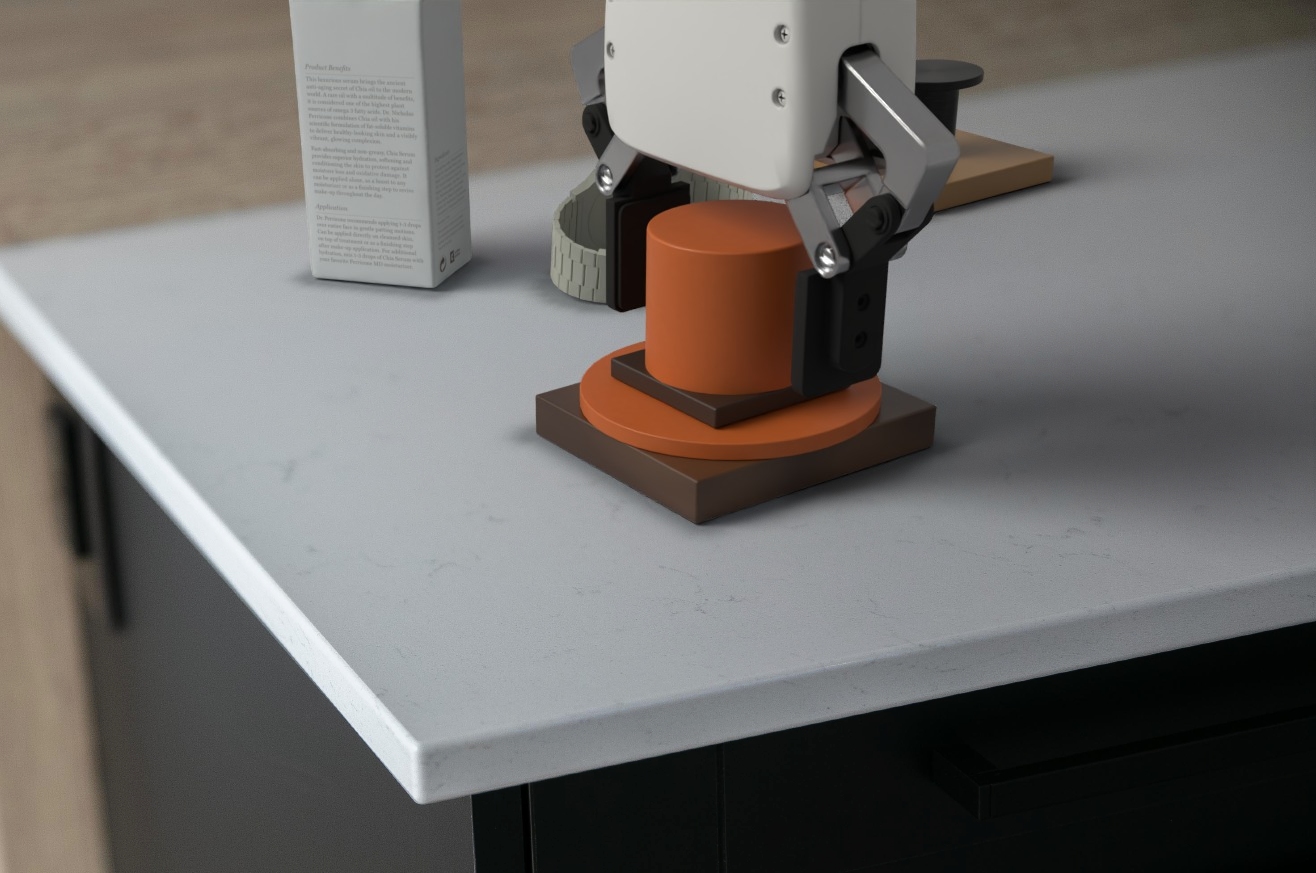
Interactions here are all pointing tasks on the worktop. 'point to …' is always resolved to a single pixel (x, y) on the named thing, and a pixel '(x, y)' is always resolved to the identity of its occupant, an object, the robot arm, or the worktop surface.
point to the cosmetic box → (383, 138)
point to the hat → (720, 345)
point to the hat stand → (973, 140)
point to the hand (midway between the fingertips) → (736, 341)
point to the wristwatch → (585, 232)
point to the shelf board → (736, 483)
